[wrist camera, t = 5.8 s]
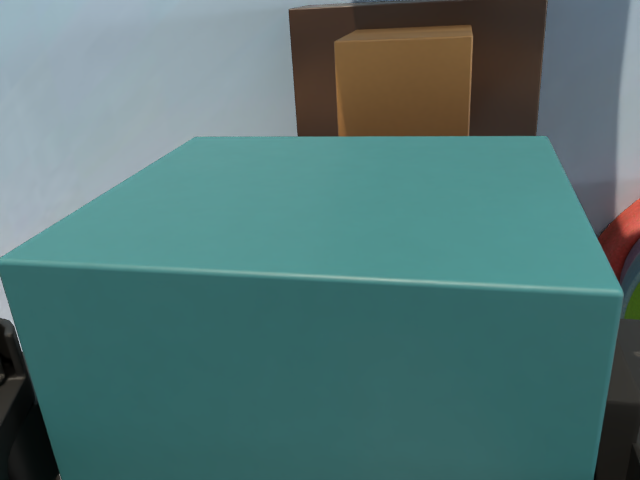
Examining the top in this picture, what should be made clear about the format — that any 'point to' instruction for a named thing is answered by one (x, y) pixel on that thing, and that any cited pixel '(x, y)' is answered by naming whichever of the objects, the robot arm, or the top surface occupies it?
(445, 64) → the oak brick
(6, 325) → the robot arm
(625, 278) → the stacking bear
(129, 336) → the teal cube
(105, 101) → the top surface
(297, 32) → the walnut base
